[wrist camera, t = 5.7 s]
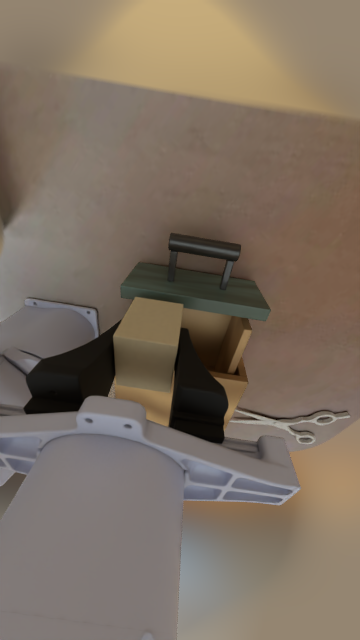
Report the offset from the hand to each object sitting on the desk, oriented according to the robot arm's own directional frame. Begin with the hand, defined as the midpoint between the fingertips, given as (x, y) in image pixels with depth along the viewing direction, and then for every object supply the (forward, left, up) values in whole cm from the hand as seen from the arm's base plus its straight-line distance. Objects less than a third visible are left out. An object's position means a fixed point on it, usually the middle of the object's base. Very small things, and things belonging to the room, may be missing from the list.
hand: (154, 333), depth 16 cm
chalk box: (0, 0, -1) cm, 1 cm away
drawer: (+3, -2, -9) cm, 10 cm away
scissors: (+23, -23, -10) cm, 34 cm away
